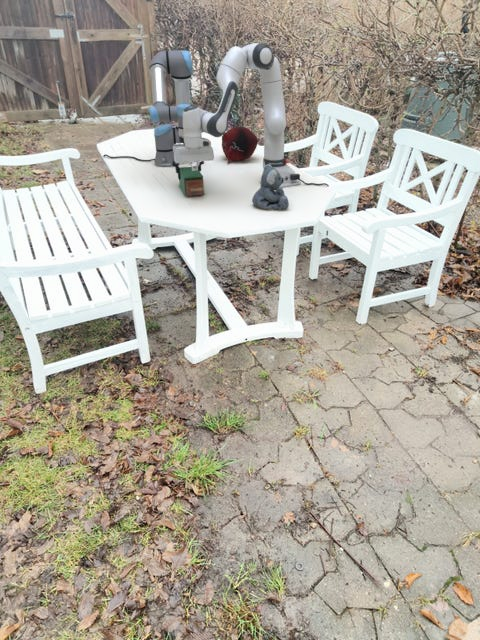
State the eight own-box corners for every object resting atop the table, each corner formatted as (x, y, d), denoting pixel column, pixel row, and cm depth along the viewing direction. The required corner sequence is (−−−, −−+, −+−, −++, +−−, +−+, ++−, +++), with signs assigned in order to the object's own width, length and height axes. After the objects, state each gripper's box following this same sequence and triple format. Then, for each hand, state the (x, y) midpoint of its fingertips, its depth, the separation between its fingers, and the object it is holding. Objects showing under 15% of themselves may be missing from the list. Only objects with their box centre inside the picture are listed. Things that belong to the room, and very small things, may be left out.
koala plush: (289, 210, 223) (292, 171, 212) (253, 212, 222) (254, 172, 211) (284, 198, 237) (286, 161, 226) (250, 200, 236) (250, 162, 225)
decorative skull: (218, 132, 305) (218, 129, 282) (252, 124, 304) (255, 121, 281) (225, 164, 312) (225, 164, 288) (258, 157, 311) (261, 156, 288)
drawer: (206, 197, 237) (205, 182, 232) (188, 199, 235) (187, 184, 231) (197, 184, 256) (196, 170, 251) (181, 185, 254) (180, 171, 249)
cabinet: (204, 194, 244) (203, 176, 238) (185, 196, 242) (183, 177, 236) (197, 183, 260) (196, 166, 254) (179, 185, 257) (178, 167, 252)
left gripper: (165, 139, 235) (169, 181, 247) (208, 136, 239) (210, 178, 252) (163, 136, 240) (167, 177, 253) (205, 133, 245) (207, 174, 258)
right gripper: (173, 145, 218) (175, 173, 225) (214, 142, 222) (215, 170, 230) (171, 142, 223) (173, 170, 230) (211, 139, 227) (212, 167, 235)
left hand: (189, 177), depth 253 cm, fingers closed on cabinet, 10 cm apart
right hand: (194, 170), depth 230 cm, fingers closed
